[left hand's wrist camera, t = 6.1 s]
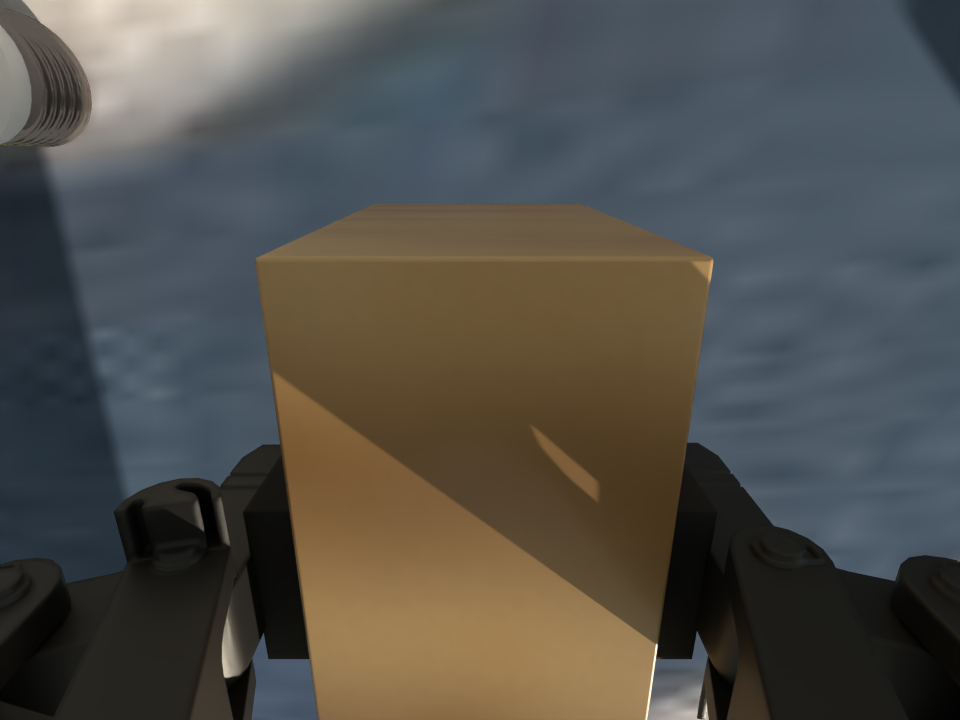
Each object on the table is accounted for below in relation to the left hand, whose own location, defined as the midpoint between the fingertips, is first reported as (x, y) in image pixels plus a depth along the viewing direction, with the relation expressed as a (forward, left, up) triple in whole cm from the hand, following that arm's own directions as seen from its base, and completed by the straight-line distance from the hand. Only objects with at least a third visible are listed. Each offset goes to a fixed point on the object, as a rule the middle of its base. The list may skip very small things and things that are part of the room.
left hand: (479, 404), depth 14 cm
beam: (+2, +21, -1) cm, 21 cm away
